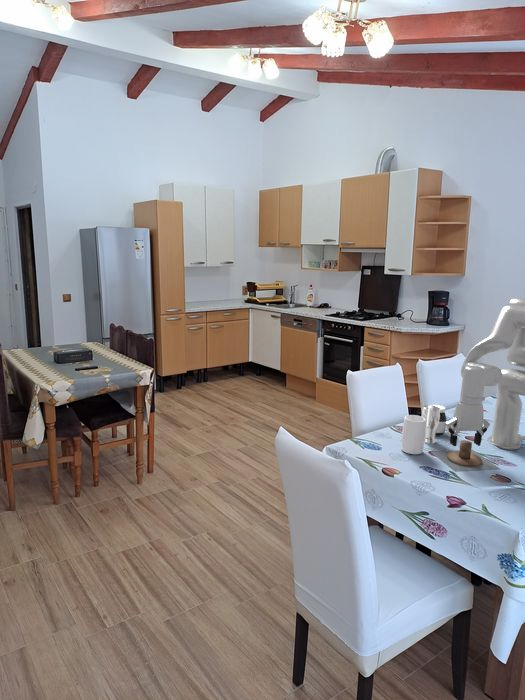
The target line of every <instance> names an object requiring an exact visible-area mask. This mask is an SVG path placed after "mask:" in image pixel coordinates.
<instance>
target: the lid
mask: <svg viewBox="0 0 525 700" xmlns="http://www.w3.org/2000/svg"><path fill="white" fill-rule="evenodd" d="M472 445H473V442H472V441H470V440H467V439H466V440H464V439H463V440H460V444H459V451H455V450H452V451H453V452H450V453H448V455H447V458H448V460H449V461H451V462H453V463H455V464H458V465H462V466H468V467H475V466H479V465H481V463H482V459H481V458H480V457H479V456H477V455H474V454H472V453H471V450H472V447H473V446H472Z"/></svg>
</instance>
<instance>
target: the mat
mask: <svg viewBox="0 0 525 700" xmlns="http://www.w3.org/2000/svg"><path fill="white" fill-rule="evenodd" d="M459 450H460V449H459ZM459 450H458V449H457V450H440V451H439V450H436V451H435V450H434V451H430V453H431V454H432V455H434V456H435V457H436V458H437V459H439V460H440V461H441V462H443V463H444V464H445V465H446V466H447V467H448V468H450V469H451V470H452V471H453V472H454V473H455V472H471V471H472V472H474V471H477V472H478V471H492V470H493V471H494V470H501V468H500V467H499V466H497V465H495V464H494V463H493V462H491V461H489V460H488V459H487V458H486V457H484V456H482V455H481V454H479V453H478V452H476V450H473V449H471V453H472V454H474V455H477V456H479V457H480V458H481V459H482V463H481V465H479V466H475V467H468V466H462V465H458V464H455V463H453V462H451V461H449V460H448V458H447V455H448V453H450V452H453V451H459Z"/></svg>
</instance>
